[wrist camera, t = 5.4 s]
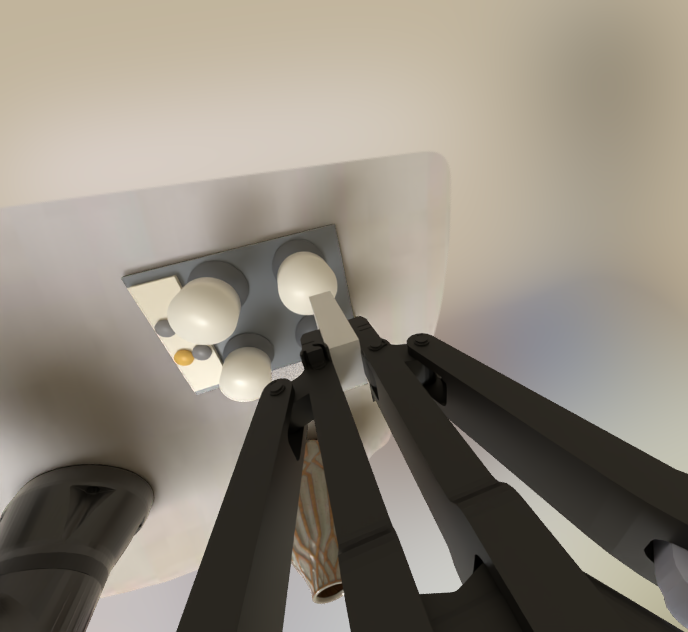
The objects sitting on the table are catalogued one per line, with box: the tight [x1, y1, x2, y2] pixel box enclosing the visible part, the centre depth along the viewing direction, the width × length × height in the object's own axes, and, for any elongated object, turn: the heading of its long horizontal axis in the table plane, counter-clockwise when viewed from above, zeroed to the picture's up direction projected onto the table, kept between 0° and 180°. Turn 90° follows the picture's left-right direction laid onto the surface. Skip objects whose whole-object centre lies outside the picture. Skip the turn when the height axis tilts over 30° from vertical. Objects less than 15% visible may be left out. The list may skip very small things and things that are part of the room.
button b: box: [167, 277, 241, 345], centre depth 23 cm, size 5×5×5 cm
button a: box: [219, 347, 271, 402], centre depth 29 cm, size 5×5×5 cm
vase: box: [291, 439, 344, 604], centre depth 36 cm, size 13×13×18 cm
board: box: [121, 224, 354, 395], centre depth 30 cm, size 22×16×2 cm
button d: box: [277, 252, 337, 315], centre depth 25 cm, size 5×5×5 cm
